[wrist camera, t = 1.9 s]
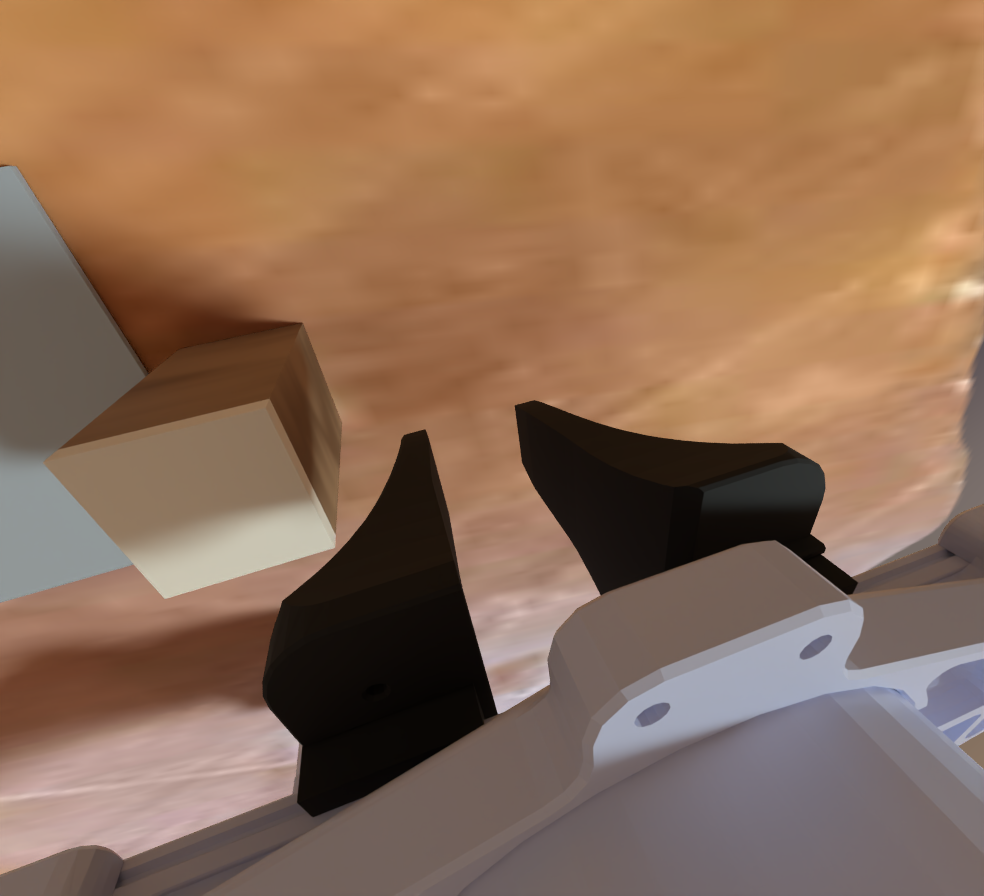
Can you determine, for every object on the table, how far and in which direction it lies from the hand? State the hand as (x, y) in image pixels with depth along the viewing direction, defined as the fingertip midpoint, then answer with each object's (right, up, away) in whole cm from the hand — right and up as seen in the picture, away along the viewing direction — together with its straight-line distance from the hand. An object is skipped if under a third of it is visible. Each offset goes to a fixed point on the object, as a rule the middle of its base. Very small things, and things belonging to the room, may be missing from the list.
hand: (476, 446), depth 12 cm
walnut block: (-10, +3, +7) cm, 12 cm away
